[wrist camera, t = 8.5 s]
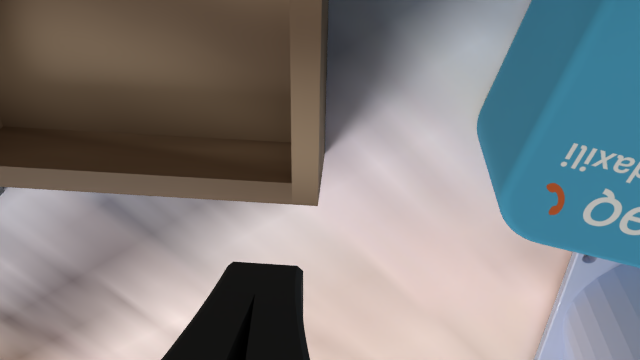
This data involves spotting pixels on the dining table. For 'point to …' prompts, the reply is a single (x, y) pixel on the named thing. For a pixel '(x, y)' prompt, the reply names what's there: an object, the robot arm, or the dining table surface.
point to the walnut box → (165, 97)
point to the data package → (569, 128)
